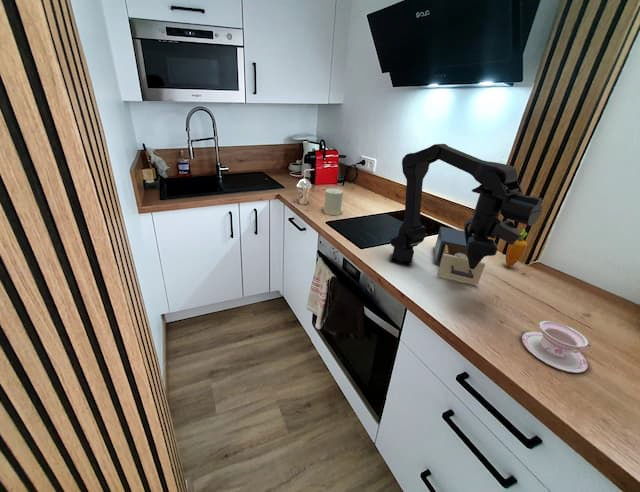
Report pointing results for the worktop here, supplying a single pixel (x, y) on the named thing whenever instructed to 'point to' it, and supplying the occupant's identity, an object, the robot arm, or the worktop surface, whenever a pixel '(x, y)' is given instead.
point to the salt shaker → (461, 255)
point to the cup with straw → (304, 189)
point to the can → (333, 201)
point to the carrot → (516, 250)
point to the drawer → (458, 265)
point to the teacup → (558, 346)
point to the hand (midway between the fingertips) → (470, 261)
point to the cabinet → (448, 240)
